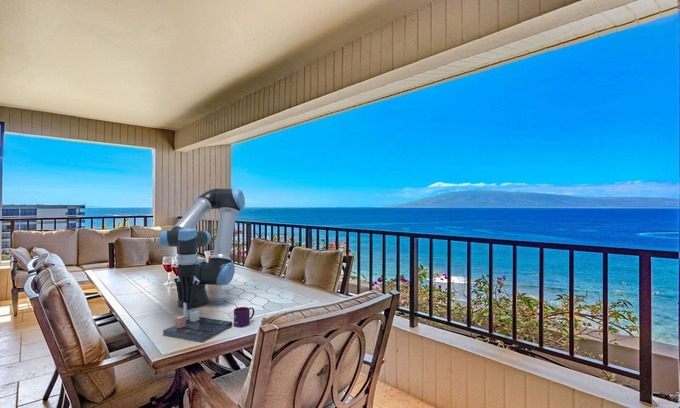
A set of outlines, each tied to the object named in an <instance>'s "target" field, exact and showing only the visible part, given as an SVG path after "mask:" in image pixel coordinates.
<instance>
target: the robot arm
mask: <svg viewBox="0 0 680 408" xmlns="http://www.w3.org/2000/svg"><path fill="white" fill-rule="evenodd" d="M245 204H246V200H245V195H244V192H243V190H241V189H240V188H233V187H232V188H212V189H209V190H207V191H205V192H203V193H202V194H201V195H200V196H198V197H197V198H196V199H195V200H194V204H193V205H192V206H191V207H190V208H189V210H187V212H185V214H184V215H183V216H182V217H181V218H180V220H178V221H177V223H176V224H175V225H174V226H173V227H172V228H171V229H170V230H162V231H161V233H160V235H159V243H160V245H161V246H163V247H168V248H171V247H172V248H173V247H175V248H176V247H177V248H178V250H177V251H178V252H177V254H178V256H177V260H178V261H177V263H178V265H177V272H178V277H175V278H174V279H173V280H174V283H175V286H176V292H177V299H178V300H177V307H180V308H182V310H183V311H182V314H183V315H182V316H186V319H187V318H190V312H191V311H192V308H198V307H202V306H206V305H207V304H208V303H209V301H210V299H209V296H208V293H207V289H206V285H210V286H211V285H212V286H226V285H229V284H230V283H232V281H233V278H234V275H235V273H236V272H235V271H236V269H235V267H236V266H235V264H234V263H233V259H232V258H231V257H230V256H231V249H232V244H233V239H234V232H235V226H236V219H237V216H238V215H239V214H240V213H241V211H240V210H243V209H245V206H246V205H245ZM214 209H215V210H217V209H218V210H217V211H218V212H219V217H218V218H219V219H218V223H217V225H218V226H217V229H216V235H215V241H214V247H213V254H212V255H211V256H210V257H209V259H208V262H207V261H206V259H205V258H199V259H198V257H197V249H199V248H204V247H205V246H208V245H209V244H210V243H211V240H212V236H211V233H209V232H208V231H207V230H197V229H196V228H194V227H195V226H197V225H198V223H199V222H200V221H201V220H202V218H203V217H204V216H205V215H206V213H209V212H211V211H212V210H214Z"/></svg>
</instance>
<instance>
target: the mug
mask: <svg viewBox="0 0 680 408" xmlns="http://www.w3.org/2000/svg"><path fill="white" fill-rule="evenodd" d="M250 310H252V313H251V315H250V312H251V311H250ZM254 316H255V308H254V307H248V306H238V307H236V308H234V309H233V326H234V327H235V328H243V327H244V328H245V327H247V326H249V325H250V320H251V319H252V318H253V317H254Z"/></svg>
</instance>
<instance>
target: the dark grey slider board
mask: <svg viewBox="0 0 680 408" xmlns="http://www.w3.org/2000/svg"><path fill="white" fill-rule="evenodd" d="M231 328H233V321H229V320H223V319H215V318H209V317H203V316H199V320H197V321H195V322H192V321H190V318H189V319H186V326H184V327H182V328H175V324H174V325H173V326H170V327H168V328H165V329H163V331H162V333H163V334H162V336H166V337H171V338H177V339H182V340H187V341H192V340H193V342H199V343H205V342H206V341H208V340H210V339H212V338H213V337H216V336H217V335H219V334H221V333H223V332H225V331H226V330H228V329H231Z"/></svg>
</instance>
